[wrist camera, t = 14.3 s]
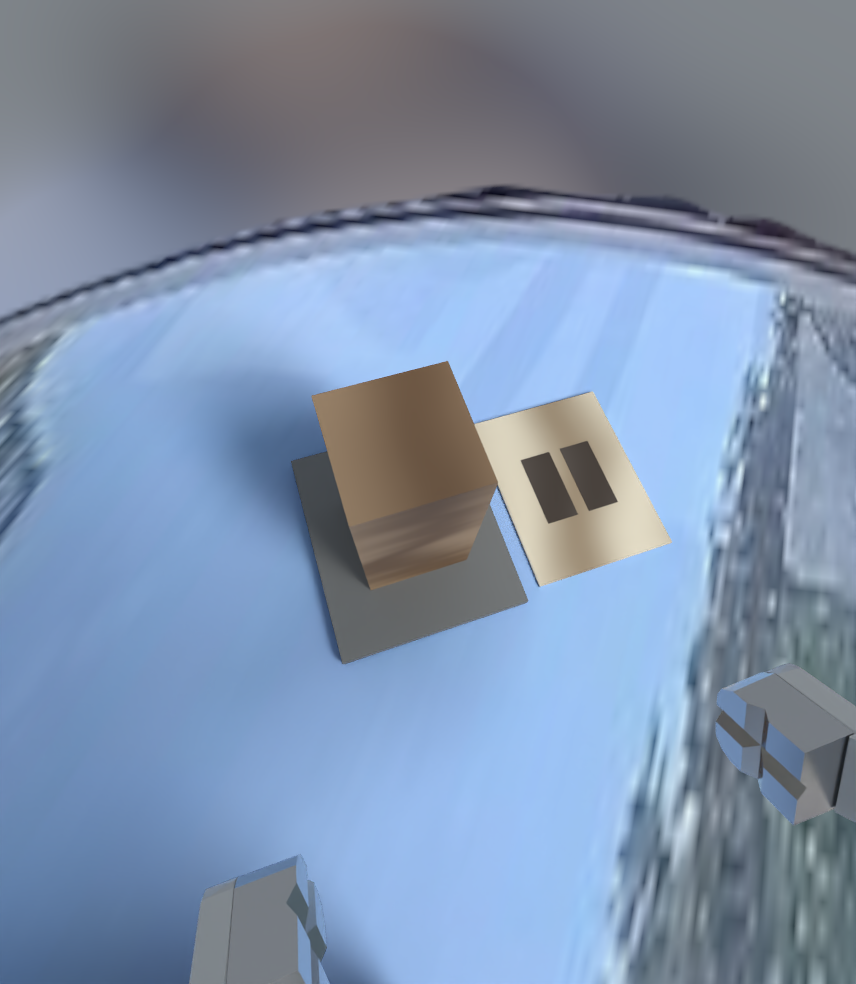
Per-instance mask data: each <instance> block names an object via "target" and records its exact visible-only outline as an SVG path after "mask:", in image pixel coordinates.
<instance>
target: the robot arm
mask: <svg viewBox="0 0 856 984" xmlns="http://www.w3.org/2000/svg"><path fill="white" fill-rule="evenodd" d="M717 705H718V706H719V707H720V708H721V709H722V710H723V711H722V712H721V714H720V715H719V717H718V719H717V720H716V736H717V738H718V741H719V743H720V745H721V748H722V750H723V751H724V752H725V754H726V755H727V757H728V758H729V760H730V761H731V762H732V763H733V764H734V765H735V766H736V767H737V768H738V769H739V770H740V771H741V772H743V773H745V774H748V775H750V776H752V777H755V778H757V779H758V782H759V786H760V790H761V793H762V794H763V795H764V796H765V797H766V798H767V799H768V800H769V801H770V802H771V803H772V804H773V805H774V806H775V807H776V808H777V809H778V810H779V811H780V812H781V813H782V814H783V815H784V816H785V817H786V818H787V819H788V820H789V821H790V822H791V823H792V824H793V825H796V824H799V823H801V822H803V821H806V820H808V819H811V818H813V817H815V816H818V815H820V814H823V813H825V812H828V811H830V810H832V809H835V812H836V813H838V814H840V815H842V816H844V817H846V818H848V819H850V820H851V821H853V822H855V823H856V706H854V705H853V704H851V703H850V702H849V701H847V700H846V699H844V698H843V697H842V696H840V695H839V694H837V693H836V692H834V691H833V690H832V689H830V688H829V687H827V686H826V685H824V684H823V683H822V682H820V681H819V680H817V679H816V678H814V677H813V676H812V675H810V674H809V673H807V672H806V671H804V670H803V669H802V668H800V667H798V666H796V665H793V664H790V663H788V664H784V665H781V666H779V667H776V668H774V669H772V670H769V671H767V672H762V673H759V674H757V675H754V676H752V677H750V678H747V679H745V680H742V681H740V682H737V683H735V684H733V685H730V686H728V687H725V688H723V689H721V691H720V692H719V693H718V695H717ZM326 948H327V943H326V931H325V922H324V916H323V910H322V904H321V901H320V897H319V894H318V891H317V888H316V886H315V883H314V882H312V881H309V880H307V865H306V863H305V861H304V859H303V857H302V855H301V854H299V855H296V856H294V857H291V858H288V859H285V860H283V861H280V862H277V863H275V864H272V865H269V866H267V867H264V868H261V869H258V870H256V871H253V872H250V873H248V874H245V875H242V876H240V877H236V878H233V879H231V880H228V881H226V882H223V883H221V884H218V885H215V886H213V887H210V888H208V889H206V890H205V892H204V895H203V898H202V900H201V903H200V909H199V916H198V923H197V930H196V937H195V944H194V952H193V959H192V966H191V973H190V980H189V984H329V980H328V978H327V976H326V973H325V971H324V969H323V967H322V965H321V960H322V958H323V955H324V953H325V951H326Z"/></svg>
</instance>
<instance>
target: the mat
mask: <svg viewBox="0 0 856 984" xmlns="http://www.w3.org/2000/svg"><path fill="white" fill-rule="evenodd" d="M291 463H292V467H293V471H294V475H295V479H296V483H297V487H298V491H299V495H300V499H301V503H302V507H303V511H304V514H305V518H306V522H307V526H308V530H309V534H310V538H311V542H312V546H313V550H314V554H315V558H316V562H317V566H318V569H319V573H320V577H321V581H322V585H323V589H324V593H325V597H326V601H327V605H328V609H329V613H330V617H331V621H332V625H333V628H334V632H335V636H336V640H337V644H338V648H339V652H340V656H341V660H342V664H346V663H349V662H352V661H355V660H358V659H361V658H364V657H367V656H370V655H373V654H376V653H379V652H382V651H385V650H388V649H391V648H394V647H397V646H400V645H403V644H406V643H409V642H412V641H415V640H418V639H421V638H423V637H426V636H429V635H432V634H435V633H438V632H441V631H444V630H447V629H450V628H453V627H456V626H459V625H462V624H465V623H468V622H471V621H474V620H477V619H480V618H483V617H486V616H489V615H492V614H495V613H498V612H501V611H504V610H507V609H509V608H512V607H515V606H518V605H521V604H524V603H526V602H528V599H527V596H526V594H525V591H524V589H523V586H522V584H521V581H520V579H519V576H518V574H517V571H516V569H515V566H514V564H513V561H512V559H511V556H510V554H509V551H508V549H507V546H506V544H505V541H504V539H503V536H502V534H501V531H500V529H499V526H498V524H497V521H496V519H495V516H494V514H493V511H492V509H491V506H490V504H489V506H488V509H487V511H486V514H485V516H484V519H483V521H482V524H481V526H480V528H479V531H478V533H477V536H476V538H475V541H474V543H473V546H472V548H471V550H470V553H469V555H468V558H467V560H464V561H461V562H458V563H455V564H452V565H449V566H446V567H443V568H439V569H436V570H433V571H430V572H427V573H424V574H421V575H417V576H414V577H411V578H408V579H405V580H402V581H399V582H396V583H392V584H389V585H386V586H383V587H380V588H377V589H374V590H370V587H369V584H368V581H367V578H366V575H365V572H364V569H363V566H362V563H361V560H360V557H359V554H358V551H357V549H356V546H355V543H354V540H353V537H352V534H351V531H350V528H349V525H348V521H347V518H346V514H345V511H344V507H343V504H342V500H341V497H340V493H339V490H338V487H337V483H336V480H335V476H334V473H333V469H332V466H331V462H330V459H329V455H328V452H323V453H319V454H316V455H312V456H308V457H304V458H301V459H297V460H293V461H291Z"/></svg>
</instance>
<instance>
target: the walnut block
mask: <svg viewBox="0 0 856 984" xmlns="http://www.w3.org/2000/svg"><path fill="white" fill-rule="evenodd" d="M312 400H313V403H314V407H315V410H316V414H317V417H318V421H319V424H320V427H321V431H322V434H323V438H324V441H325V445H326V448H327V452H328V455H329V459H330V462H331V466H332V469H333V473H334V476H335V480H336V483H337V487H338V490H339V493H340V497H341V500H342V504H343V507H344V511H345V514H346V518H347V521H348V525H349V528H350V531H351V534H352V537H353V540H354V543H355V546H356V549H357V551H358V554H359V557H360V560H361V563H362V566H363V569H364V572H365V575H366V578H367V581H368V584H369V587H370V590H374V589H377V588H380V587H383V586H386V585H389V584H392V583H396V582H399V581H402V580H405V579H408V578H411V577H414V576H417V575H421V574H424V573H427V572H430V571H433V570H436V569H439V568H443V567H446V566H449V565H452V564H455V563H458V562H461V561H464V560H467V558H468V555H469V553H470V550H471V548H472V546H473V543H474V541H475V538H476V536H477V533H478V531H479V528H480V526H481V524H482V521H483V519H484V516H485V514H486V511H487V509H488V506H489V504H490V502H491V499H492V497H493V494H494V492H495V489H496V487H497V485H498V481H497V478H496V476H495V473H494V471H493V468H492V466H491V464H490V461H489V459H488V456H487V454H486V452H485V449H484V447H483V444H482V442H481V440H480V437H479V435H478V432H477V430H476V428H475V425H474V423H473V420H472V418H471V416H470V413H469V411H468V408H467V406H466V404H465V401H464V399H463V396H462V394H461V392H460V389H459V387H458V384H457V382H456V379H455V377H454V375H453V372H452V370H451V367H450V365H449V363H448V361H446V362H442V363H438V364H434V365H430V366H426V367H422V368H418V369H415V370H411V371H407V372H403V373H399V374H395V375H391V376H387V377H383V378H379V379H375V380H371V381H367V382H363V383H360V384H356V385H352V386H348V387H344V388H340V389H336V390H332V391H328V392H324V393H320V394H316V395H312Z"/></svg>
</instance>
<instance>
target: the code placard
mask: <svg viewBox="0 0 856 984" xmlns="http://www.w3.org/2000/svg"><path fill="white" fill-rule="evenodd" d="M474 425H475V428H476V430H477V432H478V435H479V437H480V440H481V442H482V444H483V447H484V449H485V452H486V454H487V456H488V459H489V461H490V464H491V466H492V468H493V471H494V473H495V476H496V478H497V481H498V488H499V490H500V493H501V495H502V497H503V500H504V502H505V505H506V507H507V510H508V512H509V514H510V517H511V519H512V522H513V524H514V527H515V529H516V531H517V534H518V536H519V539H520V541H521V544H522V546H523V548H524V551H525V553H526V556H527V558H528V561H529V563H530V565H531V568H532V570H533V573H534V575H535V578H536V580H537V582H538V585H539V587H541V586H544V585H547V584H550V583H553V582H556V581H559V580H562V579H565V578H568V577H571V576H574V575H577V574H580V573H583V572H586V571H589V570H592V569H595V568H598V567H601V566H604V565H607V564H610V563H612V562H615V561H618V560H621V559H624V558H627V557H630V556H633V555H636V554H639V553H642V552H645V551H648V550H651V549H654V548H657V547H660V546H663V545H666V544H669V543H672V541H671V539H670V537H669V535H668V533H667V532H666V530H665V528H664V526H663V524H662V522H661V520H660V518H659V516H658V514H657V513H656V511H655V509H654V507H653V505H652V503H651V501H650V499H649V497H648V495H647V494H646V492H645V490H644V488H643V486H642V484H641V482H640V480H639V478H638V476H637V475H636V473H635V471H634V469H633V467H632V465H631V463H630V461H629V459H628V457H627V455H626V454H625V452H624V450H623V448H622V446H621V444H620V442H619V440H618V438H617V436H616V435H615V433H614V431H613V429H612V427H611V425H610V423H609V421H608V419H607V417H606V416H605V414H604V412H603V410H602V408H601V406H600V404H599V402H598V400H597V398H596V397H595V395H594V393H593V392H589V393H586V394H582V395H578V396H575V397H571V398H567V399H564V400H560V401H557V402H553V403H549V404H546V405H542V406H538V407H535V408H531V409H527V410H524V411H520V412H517V413H513V414H509V415H506V416H502V417H498V418H495V419H491V420H487V421H484V422H480V423H477V424H474Z"/></svg>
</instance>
